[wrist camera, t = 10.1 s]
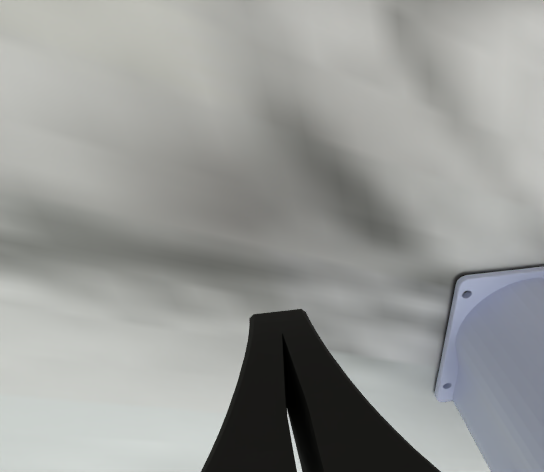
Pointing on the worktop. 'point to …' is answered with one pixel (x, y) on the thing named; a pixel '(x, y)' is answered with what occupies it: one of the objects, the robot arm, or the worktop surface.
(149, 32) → the worktop surface
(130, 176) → the worktop surface
